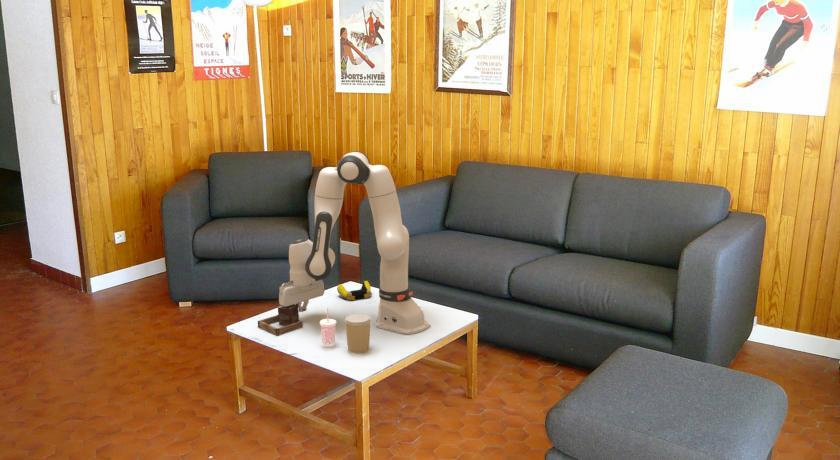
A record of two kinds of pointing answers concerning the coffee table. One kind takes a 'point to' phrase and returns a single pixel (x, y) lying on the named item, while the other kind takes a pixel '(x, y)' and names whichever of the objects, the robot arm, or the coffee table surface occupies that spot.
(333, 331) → the beverage cup
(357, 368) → the coffee table surface
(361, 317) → the coffee cup
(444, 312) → the coffee table surface
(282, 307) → the box
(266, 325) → the frame
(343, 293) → the gaming controller
